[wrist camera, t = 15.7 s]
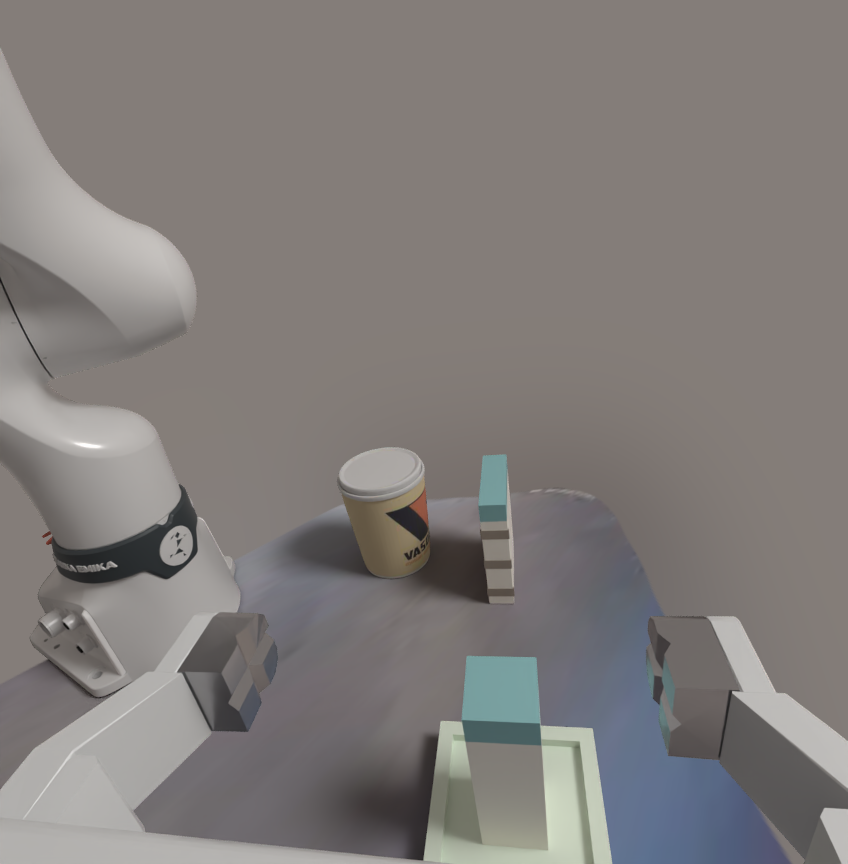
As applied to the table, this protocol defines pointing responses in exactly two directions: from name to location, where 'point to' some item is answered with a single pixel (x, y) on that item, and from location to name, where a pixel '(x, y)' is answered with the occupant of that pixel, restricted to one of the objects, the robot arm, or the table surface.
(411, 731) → the table surface
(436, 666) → the table surface
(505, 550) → the teal and white box
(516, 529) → the table surface
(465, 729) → the white teal-topped block
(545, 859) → the tray
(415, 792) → the table surface
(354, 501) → the coffee cup
